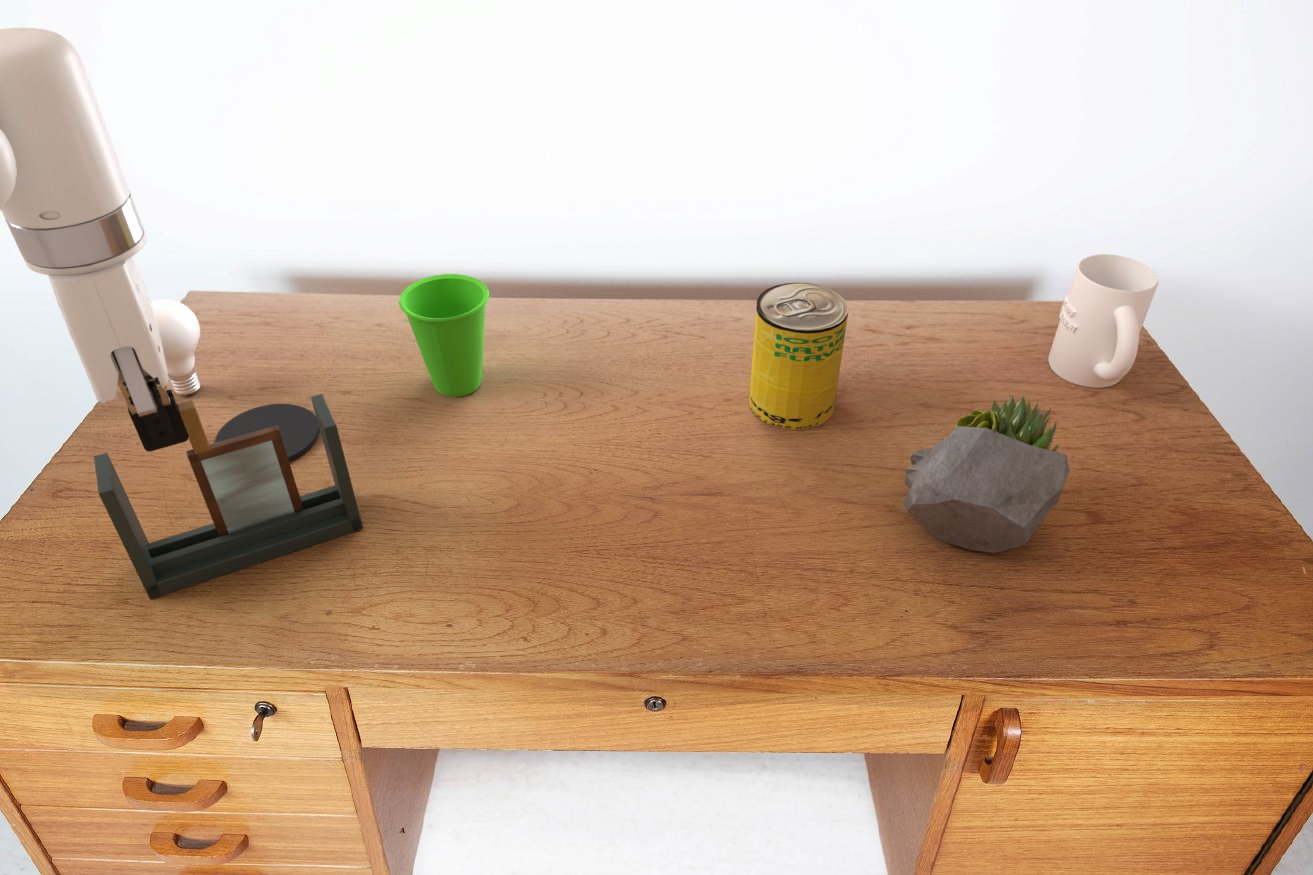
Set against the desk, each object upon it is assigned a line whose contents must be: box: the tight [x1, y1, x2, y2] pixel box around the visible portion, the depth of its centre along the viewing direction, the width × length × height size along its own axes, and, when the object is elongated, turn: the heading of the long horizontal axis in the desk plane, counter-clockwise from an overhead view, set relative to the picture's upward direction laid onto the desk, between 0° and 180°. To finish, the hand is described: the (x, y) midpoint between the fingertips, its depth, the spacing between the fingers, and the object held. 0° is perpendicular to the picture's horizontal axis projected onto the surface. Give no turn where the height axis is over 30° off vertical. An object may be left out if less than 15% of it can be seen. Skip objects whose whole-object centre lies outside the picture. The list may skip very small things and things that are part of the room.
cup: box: [398, 273, 490, 398], centre depth 101 cm, size 9×9×11 cm
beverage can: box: [748, 282, 849, 431], centre depth 99 cm, size 9×9×12 cm
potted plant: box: [902, 394, 1070, 554], centre depth 86 cm, size 12×13×15 cm
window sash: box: [177, 399, 304, 537], centre depth 81 cm, size 7×1×14 cm, turn 118°
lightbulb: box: [150, 298, 201, 396], centre depth 100 cm, size 6×6×11 cm
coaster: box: [214, 403, 321, 463], centre depth 97 cm, size 10×10×1 cm
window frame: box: [93, 393, 364, 600], centre depth 82 cm, size 18×5×12 cm, turn 118°
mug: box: [1047, 253, 1159, 389], centre depth 102 cm, size 8×12×12 cm
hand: (166, 440), depth 76 cm, fingers closed
